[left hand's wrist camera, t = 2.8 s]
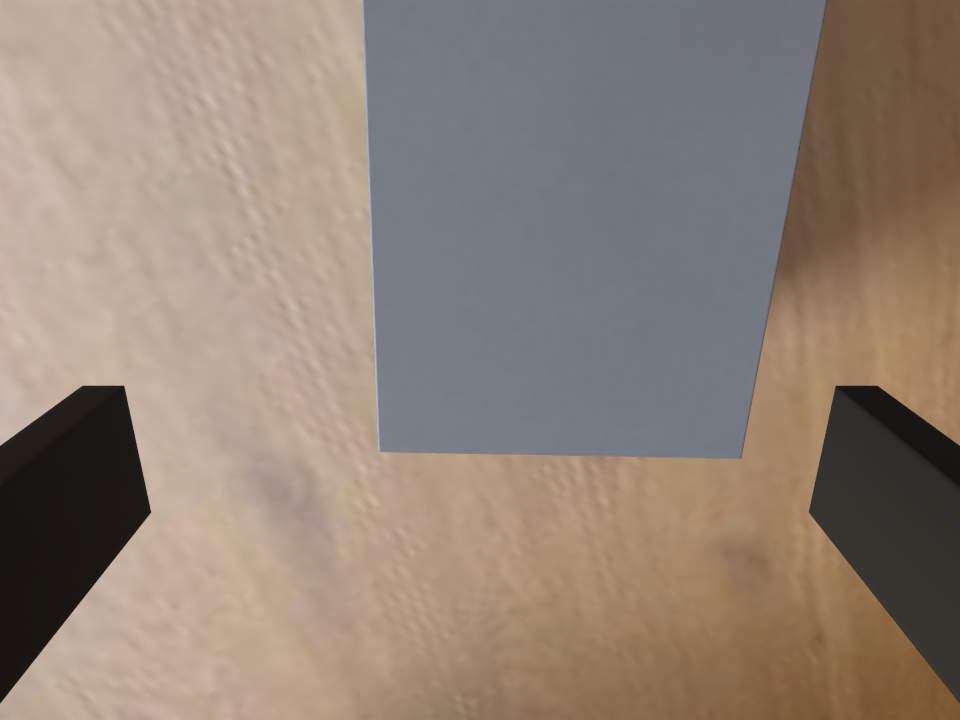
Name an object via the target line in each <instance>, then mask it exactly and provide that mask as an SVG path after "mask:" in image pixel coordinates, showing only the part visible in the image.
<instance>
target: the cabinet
mask: <svg viewBox="0 0 960 720" xmlns="http://www.w3.org/2000/svg"><path fill="white" fill-rule="evenodd" d="M826 4H827V0H362V19H363V46H364V73H365V101H366V128H367V155H368V183H369V210H370V237H371V265H372V292H373V319H374V346H375V374H376V401H377V428H378V450H379V452H403V453H454V454H505V455H556V456H606V457H657V458H708V459H741V457H742V452H743V446H744V441H745V436H746V430H747V425H748V420H749V414H750V409H751V404H752V398H753V393H754V388H755V382H756V377H757V372H758V366H759V361H760V356H761V350H762V345H763V340H764V334H765V329H766V324H767V318H768V313H769V308H770V302H771V297H772V292H773V286H774V281H775V276H776V270H777V265H778V260H779V254H780V249H781V244H782V239H783V233H784V228H785V223H786V217H787V212H788V207H789V201H790V196H791V191H792V185H793V180H794V175H795V169H796V164H797V159H798V153H799V148H800V143H801V137H802V132H803V127H804V121H805V116H806V111H807V105H808V100H809V95H810V89H811V84H812V79H813V73H814V68H815V63H816V57H817V52H818V47H819V42H820V36H821V31H822V26H823V20H824V15H825V10H826Z"/></svg>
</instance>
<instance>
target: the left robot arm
mask: <svg viewBox="0 0 960 720" xmlns="http://www.w3.org/2000/svg"><path fill="white" fill-rule="evenodd" d="M150 513H151V510H150V505H149V500H148V495H147V491H146V486H145V481H144V477H143V472H142V467H141V463H140V458H139V453H138V449H137V444H136V439H135V434H134V430H133V425H132V420H131V416H130V411H129V406H128V402H127V397H126V392H125V387H124V386H82V387H80V388H79V389H78V390H76V391H75V392H73V393H72V394H71V395H69V396H68V397H67V398H65V399H64V400H62V401H61V402H60V403H58V404H57V405H56V406H54V407H53V408H52V409H50V410H49V411H47V412H46V413H45V414H43V415H42V416H41V417H39V418H38V419H36V420H35V421H34V422H32V423H31V424H30V425H28V426H27V427H25V428H24V429H23V430H21V431H20V432H19V433H17V434H16V435H15V436H13V437H12V438H10V439H9V440H8V441H6V442H5V443H4V444H2V445H1V446H0V703H1V702H2V701H3V699H4V698H5V697H6V696H7V694H8V693H9V692H10V690H11V689H12V688H13V687H14V685H15V684H16V683H17V682H18V680H19V679H20V678H21V677H22V675H23V674H24V673H25V671H26V670H27V669H28V668H29V666H30V665H31V664H32V663H33V661H34V660H35V659H36V658H37V656H38V655H39V654H40V652H41V651H42V650H43V649H44V647H45V646H46V645H47V644H48V642H49V641H50V640H51V639H52V637H53V636H54V635H55V633H56V632H57V631H58V630H59V628H60V627H61V626H62V625H63V623H64V622H65V621H66V620H67V618H68V617H69V616H70V614H71V613H72V612H73V611H74V609H75V608H76V607H77V606H78V604H79V603H80V602H81V601H82V599H83V598H84V597H85V595H86V594H87V593H88V592H89V590H90V589H91V588H92V587H93V585H94V584H95V583H96V582H97V580H98V579H99V578H100V576H101V575H102V574H103V573H104V571H105V570H106V569H107V568H108V566H109V565H110V564H111V563H112V561H113V560H114V559H115V557H116V556H117V555H118V554H119V552H120V551H121V550H122V549H123V547H124V546H125V545H126V544H127V542H128V541H129V540H130V538H131V537H132V536H133V535H134V533H135V532H136V531H137V530H138V528H139V527H140V526H141V525H142V523H143V522H144V521H145V519H146V518H147V517H148V516H149V514H150ZM809 513H810V514H811V516H812V517H813V518H814V519H815V521H816V522H817V523H818V525H819V526H820V527H821V528H822V530H823V531H824V532H825V533H826V535H827V536H828V537H829V538H830V540H831V541H832V542H833V544H834V545H835V546H836V547H837V549H838V550H839V551H840V552H841V554H842V555H843V556H844V557H845V559H846V560H847V561H848V563H849V564H850V565H851V566H852V568H853V569H854V570H855V571H856V573H857V574H858V575H859V576H860V578H861V579H862V580H863V582H864V583H865V584H866V585H867V587H868V588H869V589H870V590H871V592H872V593H873V594H874V595H875V597H876V598H877V599H878V601H879V602H880V603H881V604H882V606H883V607H884V608H885V609H886V611H887V612H888V613H889V614H890V616H891V617H892V618H893V620H894V621H895V622H896V623H897V625H898V626H899V627H900V628H901V630H902V631H903V632H904V633H905V635H906V636H907V637H908V639H909V640H910V641H911V642H912V644H913V645H914V646H915V647H916V649H917V650H918V651H919V652H920V654H921V655H922V656H923V658H924V659H925V660H926V661H927V663H928V664H929V665H930V666H931V668H932V669H933V670H934V671H935V673H936V674H937V675H938V677H939V678H940V679H941V680H942V682H943V683H944V684H945V685H946V687H947V688H948V689H949V690H950V692H951V693H952V694H953V696H954V697H955V698H956V699H957V701H958V702H959V703H960V446H959V445H958V444H956V443H955V442H954V441H952V440H951V439H950V438H948V437H947V436H945V435H944V434H943V433H941V432H940V431H939V430H937V429H936V428H935V427H933V426H932V425H930V424H929V423H928V422H926V421H925V420H924V419H922V418H921V417H919V416H918V415H917V414H915V413H914V412H913V411H911V410H910V409H908V408H907V407H906V406H904V405H903V404H902V403H900V402H899V401H897V400H896V399H895V398H893V397H892V396H891V395H889V394H888V393H887V392H885V391H884V390H882V389H881V388H880V387H878V386H836V387H835V392H834V397H833V402H832V406H831V411H830V416H829V420H828V425H827V430H826V434H825V439H824V444H823V449H822V453H821V458H820V463H819V467H818V472H817V477H816V481H815V486H814V491H813V495H812V500H811V505H810V510H809Z"/></svg>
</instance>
